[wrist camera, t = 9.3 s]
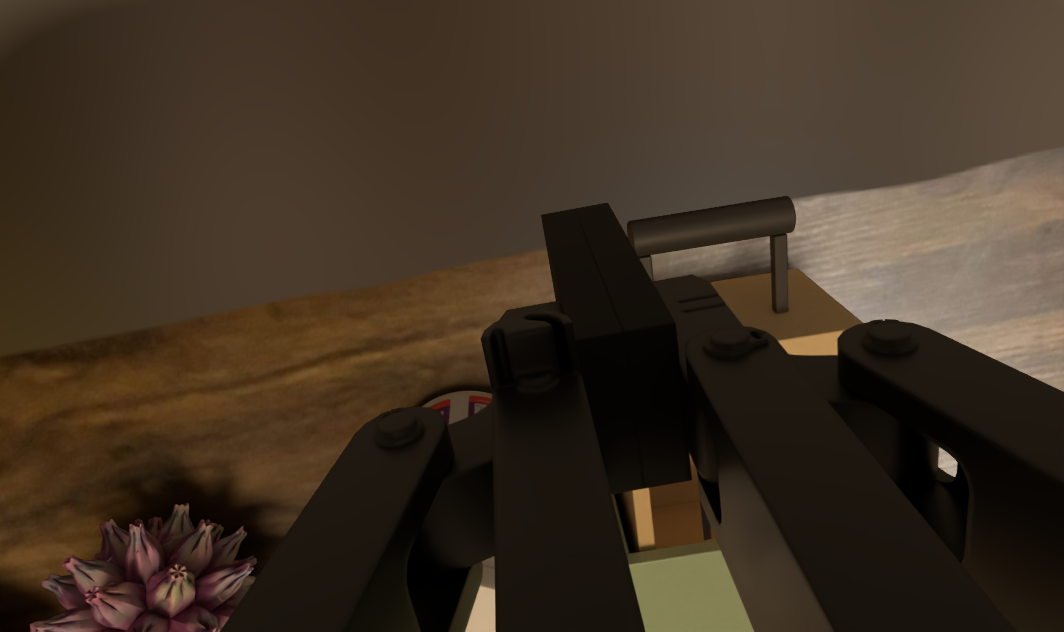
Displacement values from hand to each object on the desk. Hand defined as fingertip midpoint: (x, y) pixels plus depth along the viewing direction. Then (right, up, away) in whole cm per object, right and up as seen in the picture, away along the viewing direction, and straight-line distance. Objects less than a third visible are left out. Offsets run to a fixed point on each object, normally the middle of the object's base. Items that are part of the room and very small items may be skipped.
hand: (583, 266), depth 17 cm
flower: (-21, -15, +28) cm, 38 cm away
